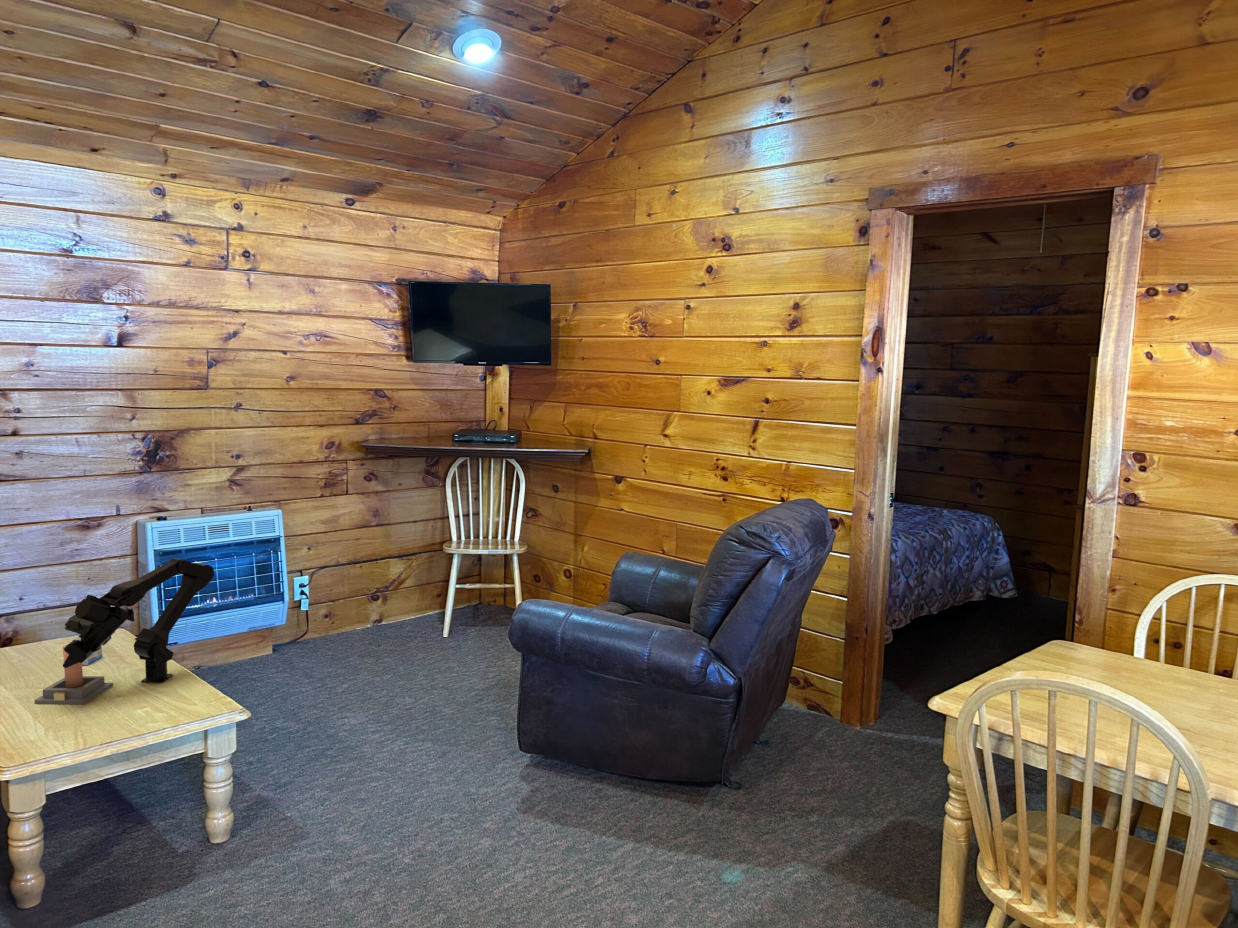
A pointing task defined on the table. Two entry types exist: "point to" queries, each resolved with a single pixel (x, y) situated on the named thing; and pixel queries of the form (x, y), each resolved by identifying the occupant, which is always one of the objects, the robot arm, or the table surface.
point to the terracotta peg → (73, 673)
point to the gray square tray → (74, 691)
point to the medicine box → (92, 655)
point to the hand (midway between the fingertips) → (67, 663)
